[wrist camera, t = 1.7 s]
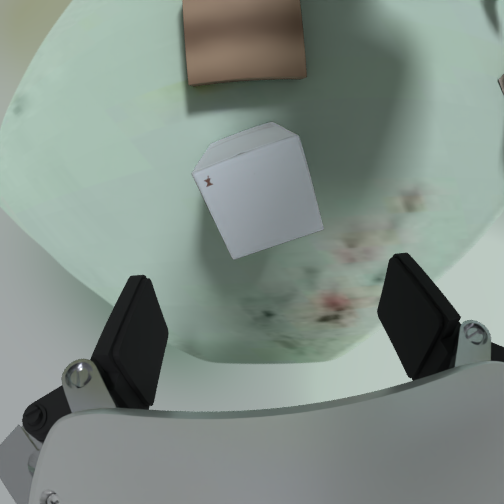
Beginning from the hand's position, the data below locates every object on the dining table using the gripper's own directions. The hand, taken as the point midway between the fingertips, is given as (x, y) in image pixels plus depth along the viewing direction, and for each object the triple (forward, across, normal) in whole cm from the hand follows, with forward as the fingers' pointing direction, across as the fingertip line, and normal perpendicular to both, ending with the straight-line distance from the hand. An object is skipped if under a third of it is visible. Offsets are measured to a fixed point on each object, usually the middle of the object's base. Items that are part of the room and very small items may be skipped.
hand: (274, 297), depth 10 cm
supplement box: (+22, 0, -1) cm, 22 cm away
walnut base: (+22, 0, -16) cm, 27 cm away
